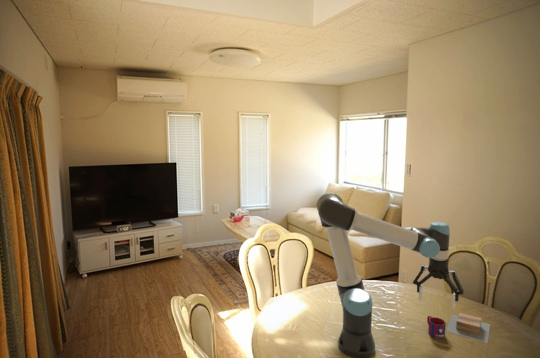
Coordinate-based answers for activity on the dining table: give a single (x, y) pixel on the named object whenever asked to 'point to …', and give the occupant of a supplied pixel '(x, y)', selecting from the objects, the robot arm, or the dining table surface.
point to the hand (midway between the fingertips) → (436, 303)
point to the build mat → (481, 337)
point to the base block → (468, 323)
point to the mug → (436, 327)
